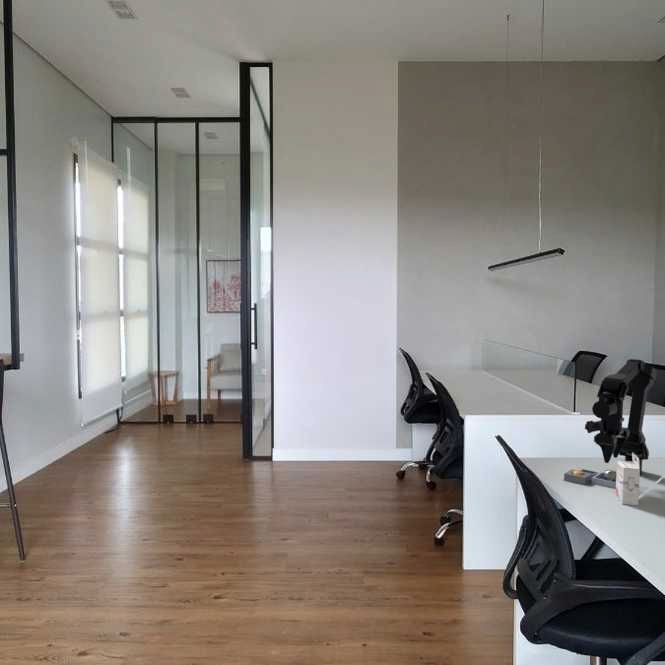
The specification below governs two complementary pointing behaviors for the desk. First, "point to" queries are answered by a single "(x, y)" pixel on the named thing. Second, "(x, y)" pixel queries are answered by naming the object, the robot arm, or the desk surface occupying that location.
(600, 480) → the cup
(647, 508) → the desk surface
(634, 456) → the ink cartridge box
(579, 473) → the tester button
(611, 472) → the cylinder
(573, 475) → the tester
